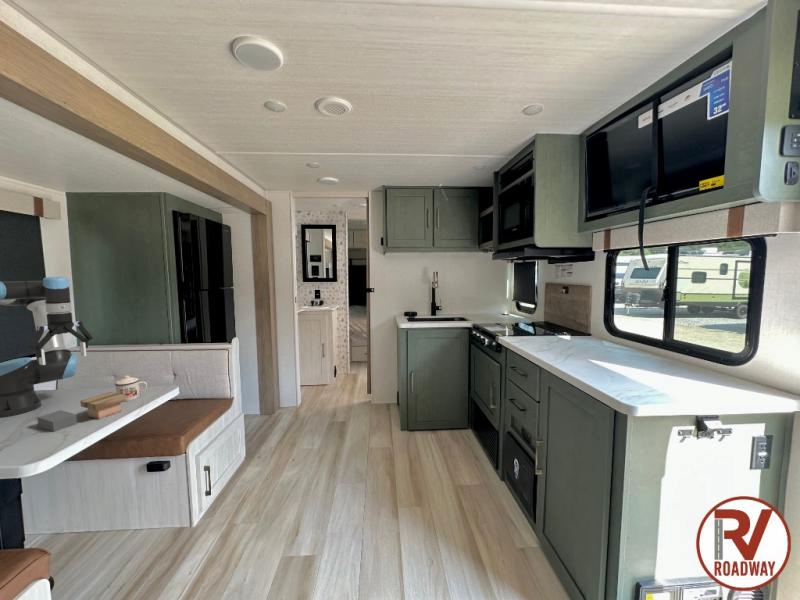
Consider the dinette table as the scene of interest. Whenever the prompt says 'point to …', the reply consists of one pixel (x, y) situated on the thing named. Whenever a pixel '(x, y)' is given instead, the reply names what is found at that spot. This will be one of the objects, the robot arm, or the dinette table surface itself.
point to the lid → (103, 400)
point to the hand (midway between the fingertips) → (64, 360)
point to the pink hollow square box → (105, 411)
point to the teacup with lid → (129, 387)
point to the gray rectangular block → (57, 420)
